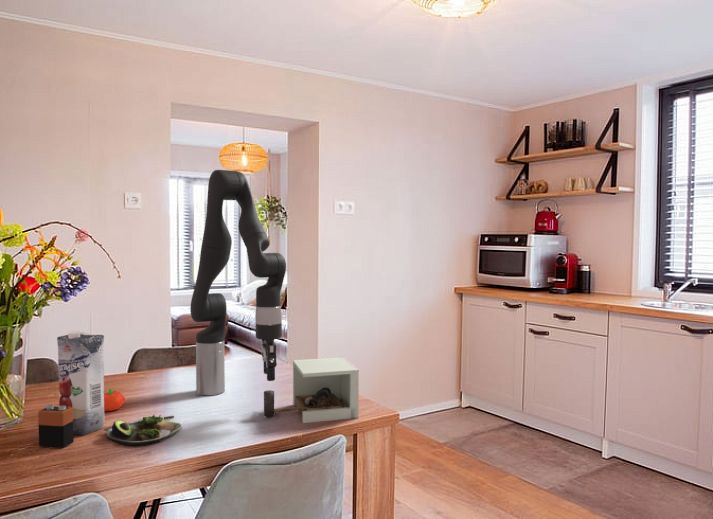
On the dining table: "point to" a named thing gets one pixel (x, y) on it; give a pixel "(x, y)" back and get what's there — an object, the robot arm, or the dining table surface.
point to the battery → (55, 426)
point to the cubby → (327, 386)
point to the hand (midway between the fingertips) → (269, 377)
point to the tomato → (113, 400)
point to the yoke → (297, 404)
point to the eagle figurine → (319, 398)
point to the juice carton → (82, 379)
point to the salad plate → (142, 431)
